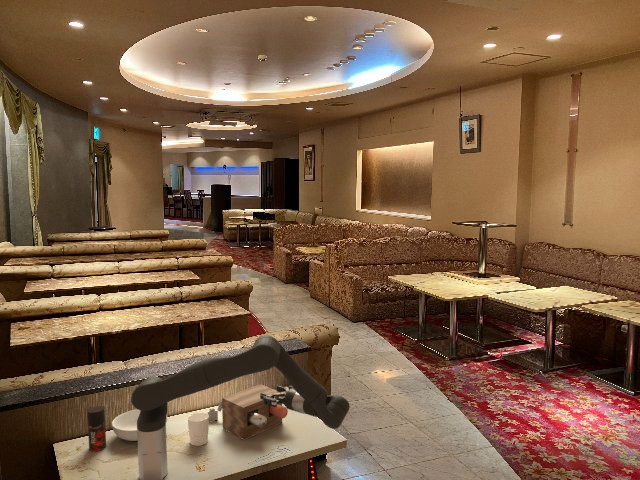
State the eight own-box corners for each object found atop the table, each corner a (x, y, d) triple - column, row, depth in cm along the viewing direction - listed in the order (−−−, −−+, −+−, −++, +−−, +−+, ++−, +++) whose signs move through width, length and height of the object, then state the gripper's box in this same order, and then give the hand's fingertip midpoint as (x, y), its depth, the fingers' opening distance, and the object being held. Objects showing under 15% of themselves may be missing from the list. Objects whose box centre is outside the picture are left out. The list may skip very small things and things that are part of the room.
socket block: (282, 422, 205) (281, 392, 204) (244, 439, 190) (243, 407, 189) (260, 412, 214) (260, 384, 213) (222, 428, 200) (221, 397, 199)
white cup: (204, 447, 185) (203, 422, 184) (184, 445, 186) (183, 420, 185) (212, 437, 192) (212, 413, 192) (194, 435, 194) (193, 411, 193)
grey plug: (266, 425, 190) (266, 414, 190) (258, 429, 187) (257, 418, 187) (250, 418, 197) (250, 407, 197) (242, 421, 194) (241, 411, 194)
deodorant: (87, 452, 182) (85, 413, 181) (90, 444, 188) (88, 407, 186) (105, 450, 183) (103, 411, 182) (107, 442, 189) (105, 405, 188)
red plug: (287, 416, 198) (287, 405, 198) (279, 420, 195) (279, 409, 195) (271, 409, 205) (271, 399, 205) (263, 412, 202) (263, 402, 202)
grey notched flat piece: (207, 421, 206) (207, 403, 205) (207, 420, 208) (207, 401, 207) (225, 419, 208) (224, 401, 207) (224, 417, 210) (224, 399, 209)
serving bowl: (174, 422, 206) (174, 406, 205) (157, 448, 185) (156, 430, 184) (125, 422, 206) (125, 407, 206) (102, 448, 185) (102, 430, 185)
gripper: (312, 384, 180) (281, 376, 191) (285, 397, 169) (254, 388, 180) (314, 404, 181) (283, 395, 191) (286, 418, 170) (255, 408, 181)
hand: (269, 391), depth 186 cm, fingers open, 8 cm apart
